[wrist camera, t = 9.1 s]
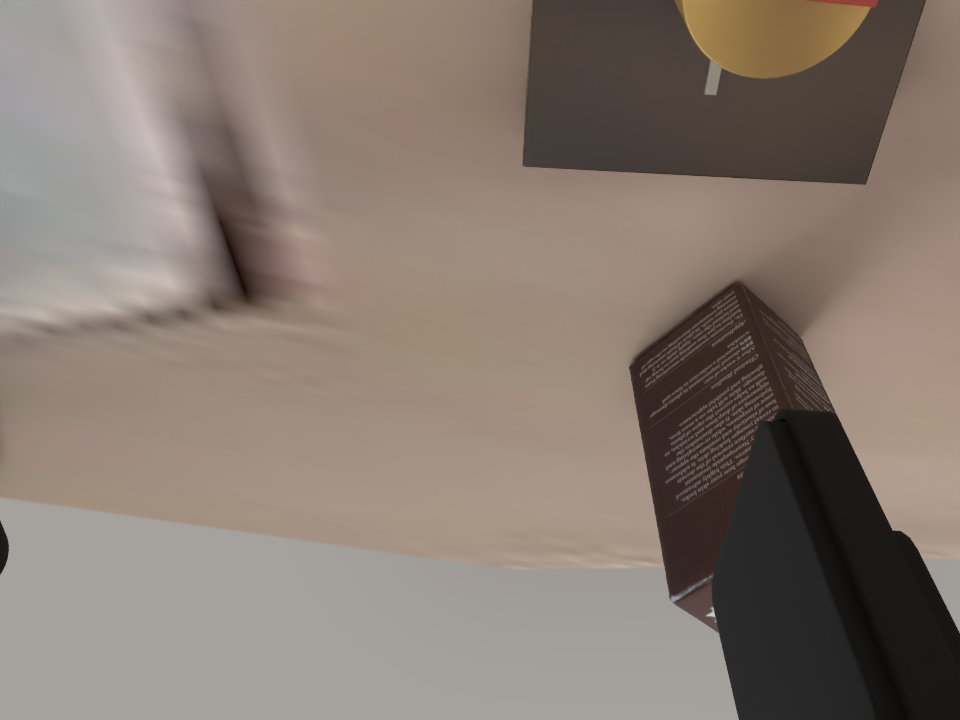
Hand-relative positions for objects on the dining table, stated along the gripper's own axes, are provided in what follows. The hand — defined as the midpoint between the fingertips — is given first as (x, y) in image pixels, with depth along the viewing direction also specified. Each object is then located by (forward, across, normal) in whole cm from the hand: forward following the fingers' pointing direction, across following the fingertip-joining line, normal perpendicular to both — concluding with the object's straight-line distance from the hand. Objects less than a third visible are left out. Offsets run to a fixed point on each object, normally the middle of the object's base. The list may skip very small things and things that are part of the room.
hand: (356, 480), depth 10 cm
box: (+22, -11, +13) cm, 28 cm away
